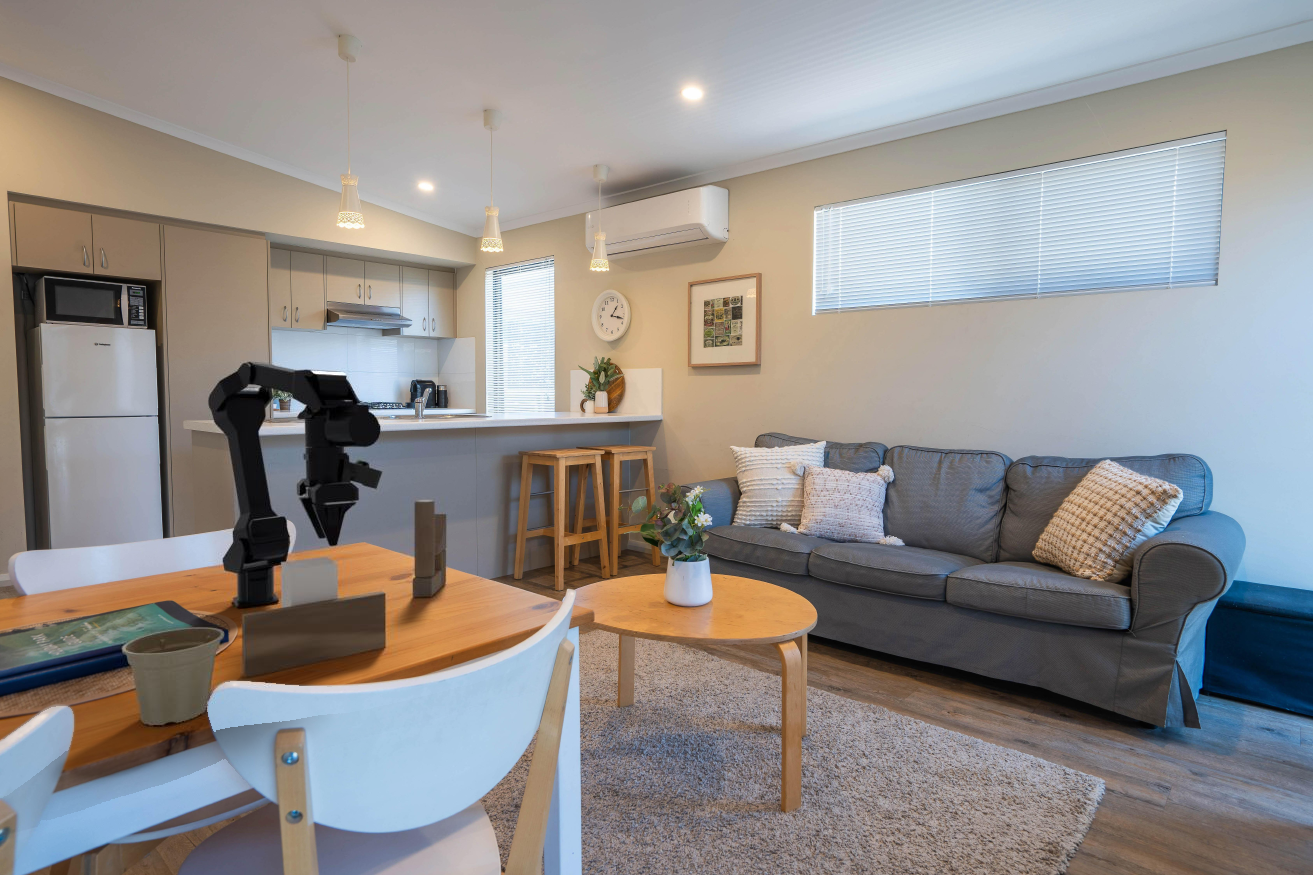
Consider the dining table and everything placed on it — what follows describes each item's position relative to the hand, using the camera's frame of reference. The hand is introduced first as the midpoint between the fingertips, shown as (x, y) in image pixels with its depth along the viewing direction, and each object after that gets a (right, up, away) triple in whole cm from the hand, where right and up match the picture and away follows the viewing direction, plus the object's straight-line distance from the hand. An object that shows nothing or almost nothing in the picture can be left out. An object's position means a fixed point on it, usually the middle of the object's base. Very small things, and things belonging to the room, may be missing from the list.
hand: (327, 541), depth 111 cm
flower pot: (-1, -15, -34) cm, 37 cm away
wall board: (+7, -14, -17) cm, 23 cm away
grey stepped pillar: (+10, -13, +20) cm, 26 cm away
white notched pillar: (+4, -14, -14) cm, 20 cm away
